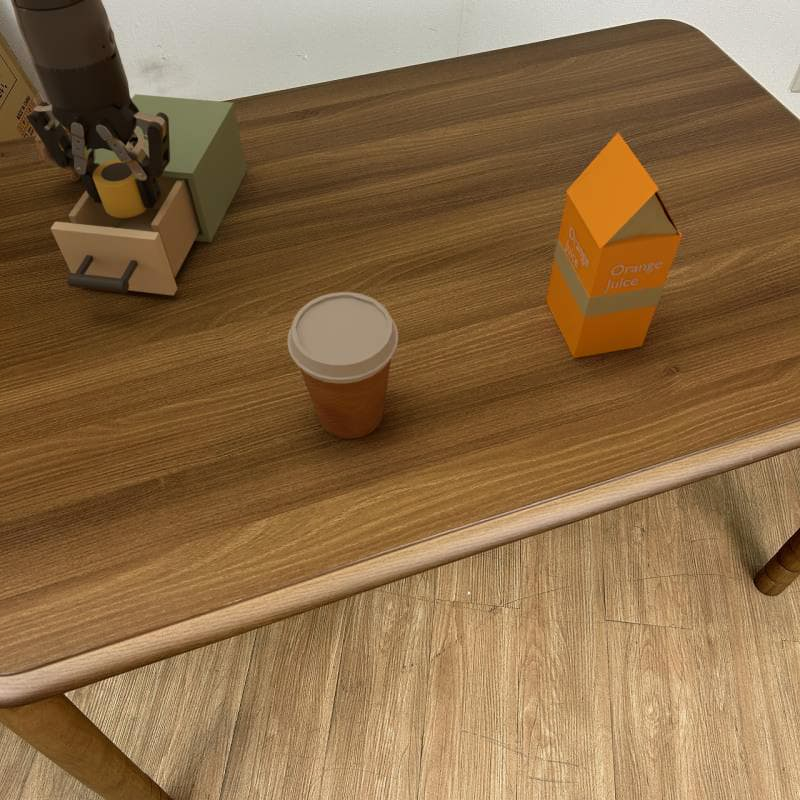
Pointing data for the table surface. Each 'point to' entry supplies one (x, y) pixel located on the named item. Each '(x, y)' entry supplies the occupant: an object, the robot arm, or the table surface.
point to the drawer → (130, 242)
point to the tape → (118, 189)
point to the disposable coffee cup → (345, 359)
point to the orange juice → (610, 255)
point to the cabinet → (198, 153)
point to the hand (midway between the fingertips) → (127, 200)
